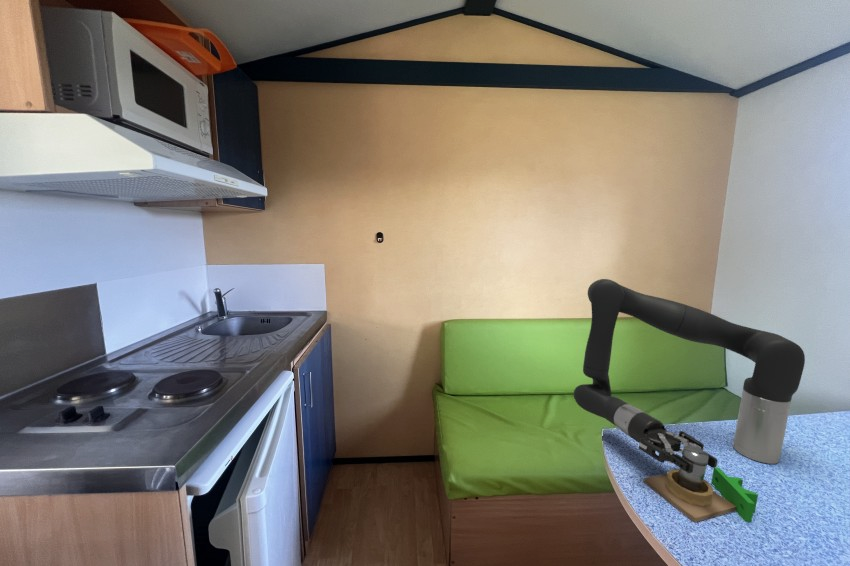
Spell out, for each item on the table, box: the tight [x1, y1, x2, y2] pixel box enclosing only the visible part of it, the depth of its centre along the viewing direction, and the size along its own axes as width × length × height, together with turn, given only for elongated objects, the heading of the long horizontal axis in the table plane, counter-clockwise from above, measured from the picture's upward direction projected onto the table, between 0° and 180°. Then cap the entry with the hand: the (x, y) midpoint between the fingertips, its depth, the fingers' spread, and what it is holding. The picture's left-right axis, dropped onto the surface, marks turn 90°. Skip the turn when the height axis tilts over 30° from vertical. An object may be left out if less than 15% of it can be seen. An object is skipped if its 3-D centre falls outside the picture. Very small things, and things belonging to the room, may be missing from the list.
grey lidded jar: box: [676, 446, 709, 493], centre depth 78 cm, size 5×5×10 cm
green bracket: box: [711, 467, 759, 523], centre depth 77 cm, size 11×4×5 cm, turn 170°
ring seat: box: [643, 468, 736, 523], centre depth 79 cm, size 12×12×4 cm
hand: (703, 466), depth 76 cm, fingers open, 6 cm apart
